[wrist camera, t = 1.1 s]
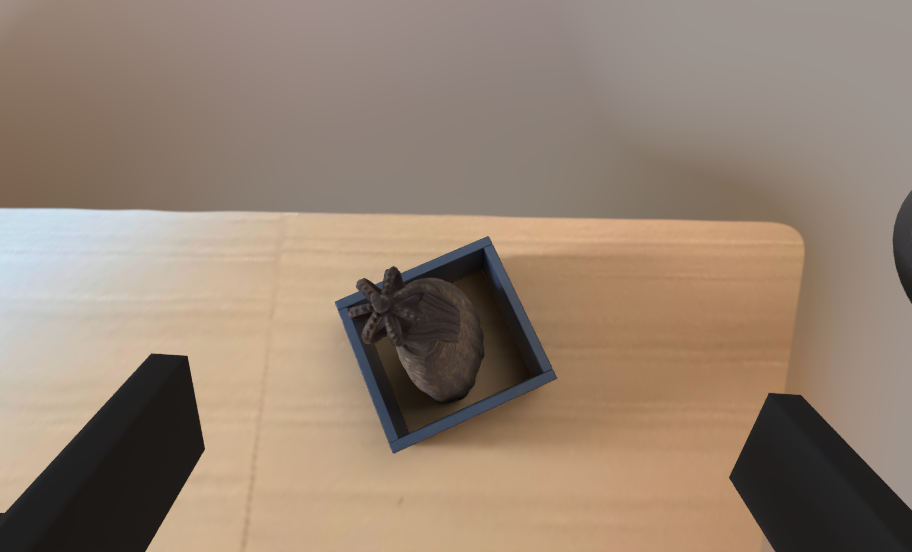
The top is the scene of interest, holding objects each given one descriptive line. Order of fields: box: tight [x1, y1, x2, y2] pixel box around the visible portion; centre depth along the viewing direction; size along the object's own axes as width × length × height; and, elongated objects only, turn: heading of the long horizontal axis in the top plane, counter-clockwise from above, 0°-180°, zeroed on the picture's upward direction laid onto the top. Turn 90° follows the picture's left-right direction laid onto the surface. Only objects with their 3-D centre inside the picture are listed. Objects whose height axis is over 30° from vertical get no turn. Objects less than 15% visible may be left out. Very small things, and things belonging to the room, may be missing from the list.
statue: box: [348, 266, 484, 403], centre depth 33 cm, size 9×8×25 cm
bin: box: [335, 236, 557, 453], centre depth 42 cm, size 13×14×7 cm
